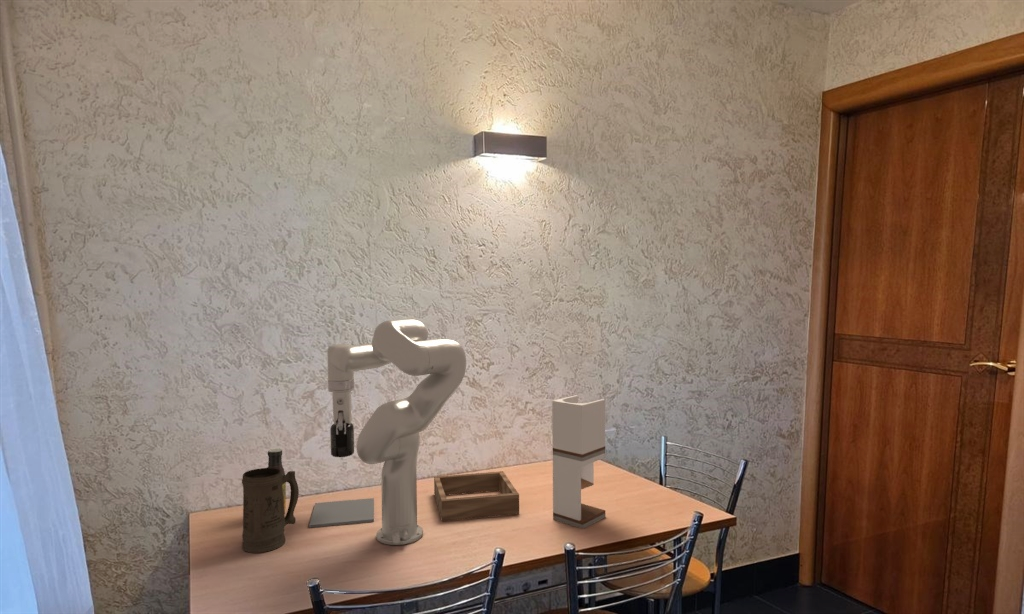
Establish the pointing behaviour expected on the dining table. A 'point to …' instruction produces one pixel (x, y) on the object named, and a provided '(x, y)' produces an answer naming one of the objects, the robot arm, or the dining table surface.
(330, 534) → the dining table surface
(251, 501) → the beer stein
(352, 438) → the supplement bottle
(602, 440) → the white notched column
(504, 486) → the crate
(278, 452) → the sauce bottle
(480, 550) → the dining table surface
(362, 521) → the mat
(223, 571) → the dining table surface
